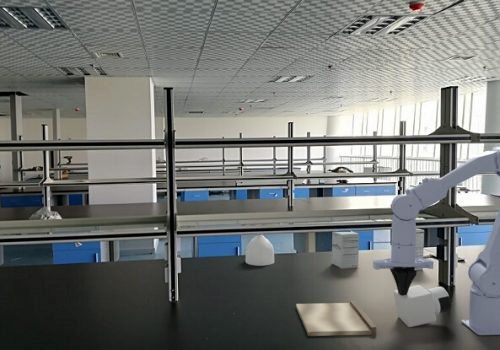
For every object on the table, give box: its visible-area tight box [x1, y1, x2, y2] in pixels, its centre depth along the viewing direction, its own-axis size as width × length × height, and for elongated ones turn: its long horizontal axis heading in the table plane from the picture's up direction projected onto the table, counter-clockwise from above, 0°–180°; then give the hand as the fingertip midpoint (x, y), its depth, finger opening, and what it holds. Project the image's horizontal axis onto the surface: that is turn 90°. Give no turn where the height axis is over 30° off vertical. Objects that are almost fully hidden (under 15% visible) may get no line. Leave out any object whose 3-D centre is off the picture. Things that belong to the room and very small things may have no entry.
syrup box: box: [415, 228, 425, 271], centre depth 157 cm, size 6×6×14 cm
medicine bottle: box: [393, 284, 452, 328], centre depth 109 cm, size 7×7×12 cm
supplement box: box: [331, 230, 360, 270], centre depth 161 cm, size 7×7×13 cm
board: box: [295, 299, 377, 337], centre depth 110 cm, size 16×18×2 cm
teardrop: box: [245, 234, 275, 267], centre depth 166 cm, size 11×11×12 cm
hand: (402, 296), depth 109 cm, fingers closed
